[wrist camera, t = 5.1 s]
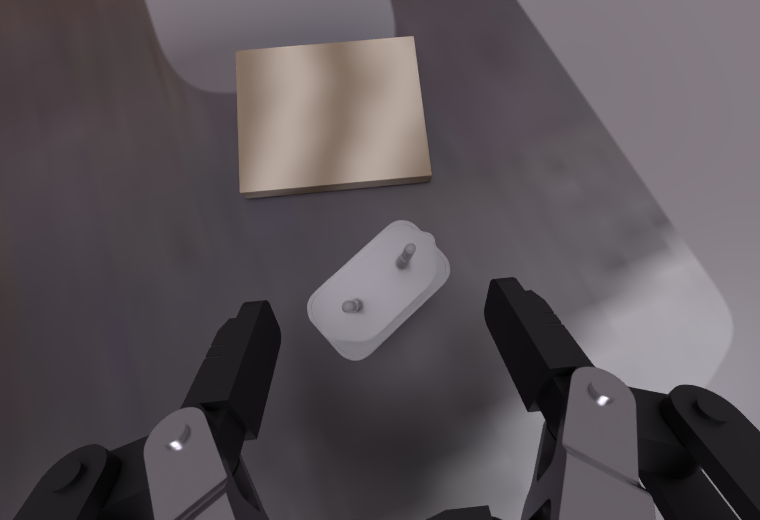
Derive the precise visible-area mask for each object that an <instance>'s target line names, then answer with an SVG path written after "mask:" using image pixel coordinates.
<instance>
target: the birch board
mask: <svg viewBox="0 0 760 520" xmlns="http://www.w3.org/2000/svg"><path fill="white" fill-rule="evenodd" d="M236 78H237V112H238V145H239V178H240V193H241V194H242V195H243V196H245V197H246V198H247V199H248V198H259V197H270V196H281V195H291V194H302V193H313V192H324V191H335V190H346V189H356V188H367V187H378V186H389V185H400V184H411V183H421V182H429V181H430V178H431V176H432V173H431V166H430V158H429V151H428V143H427V135H426V128H425V120H424V113H423V105H422V97H421V90H420V82H419V75H418V67H417V59H416V52H415V44H414V37H413V36H410V37H398V38H386V39H375V40H363V41H350V42H338V43H325V44H314V45H302V46H291V47H290V46H289V47H277V48H266V49H253V50H242V51H236Z"/></svg>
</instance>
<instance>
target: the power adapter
mask: <svg viewBox="0 0 760 520" xmlns="http://www.w3.org/2000/svg"><path fill="white" fill-rule="evenodd" d="M449 274H450V266H449V262H448V260H447V258H446V257H445V255H444V254H443V253H442V252H441V251H440V250H439V249H438V248H437V247H436V246H435V240H434V237H433V236H432V235H431V234H430V233H427V232H421V230H420V229H419V228H418V227H417V226H416V225H414V224H413V223H411V222H408V221H404V220H400V221H396V222H393V223H391V224H390V225H389V226H387V227H386V228H385V229H384V230H383V231H382V232H381V233H379V234H378V235H377V236H376V237H375V238H374V239H373V240H372V241H371V242H370V243H368V244H367V245H366V246H365V247H364V248H363V249H362V250H361V251H360V252H358V253H357V254H356V255H355V256H354V257H353V258H352V259H351V260H350V261H348V262H347V263H346V264H345V265H344V266H343V267H342V268H341V269H340V270H339V271H337V272H336V273H335V274H334V275H333V276H332V277H331V278H330V279H329V280H327V281H326V282H325V283H324V284H323V285H322V286H321V287H320V288H319V289H318V290H316V291H315V292H314V294H313V295H312V296H311V297H310V299H309V301H308V305H307V311H308V316H309V318H310V320H311V322H312V323H313V324H314V325H315V326H316V327H317V328H318V330H319V331H320V332H321V333H322V334H323V335H324V336H325V338H326V339H327V340H328V341H329V342H330V343H331V344H332V346H333V347H334V348H335V349H336V350H337V351H338V352H339V354H340V355H342V356H343V357H344V358H346V359H349V360H353V361H357V360H361V359H364V358H366V357H367V356H369V355H370V354H371V353H372V352H373V351H374V350H375V349H376V348H377V347H378V346H379V345H380V344H382V343H383V342H384V341H385V340H386V339H387V338H388V337H389V336H390V335H391V334H392V333H393V332H394V331H395V330H396V329H397V328H398V327H399V326H400V325H401V324H402V323H403V322H405V321H406V320H407V319H408V318H409V317H410V316H411V315H412V314H413V313H414V312H415V311H416V310H417V309H418V308H419V307H420V306H421V305H422V304H423V303H424V302H425V301H426V300H427V299H429V298H430V297H431V296H432V295H433V294H434V293H435V292H436V291H437V290H438V289H439V288H440V287H441V286H442V285H443V284H444V283H445V282H446V280H447V279H448V277H449Z"/></svg>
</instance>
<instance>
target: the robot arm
mask: <svg viewBox="0 0 760 520" xmlns="http://www.w3.org/2000/svg"><path fill="white" fill-rule="evenodd" d="M484 316H485V321H486V324H487V327H488V329H489V331H490V333H491V335H492V337H493V339H494V342H495V344H496V346H497V348H498V350H499V352H500V354H501V356H502V358H503V361H504V363H505V365H506V367H507V369H508V371H509V373H510V375H511V377H512V380H513V382H514V384H515V386H516V388H517V390H518V392H519V394H520V396H521V399H522V401H523V403H524V405H525V407H526V409H527V411H528V412H535V411H541V412H542V414H543V416H544V418H545V422H544V424H543V429H542V434H541V439H540V444H539V449H538V454H537V459H536V464H535V469H534V474H533V479H532V483H531V487H530V490H529V493H528V495H527V498H526V501H525V504H524V508H523V511H522V516H521V520H656V517H655V507H654V503H655V505H656V506H657V508H658V510H659V511H660V513H661V515H662V516H663V518H664V520H739V519H738V518H737V516H736V515H735V514H734V512H733V511H732V510H731V509H730V507H729V506H728V504H727V503H726V502H725V501H724V500H723V498H722V497H721V495H720V494H719V493H718V491H717V490H716V489H715V487H714V486H713V485H712V484H711V482H710V481H709V480H708V478H707V477H706V476H705V474H704V473H703V472H702V469H703V470H704V471H705V473H706V474H707V475H708V476H709V478H710V479H711V480H712V482H713V483H714V484H715V485H716V487H717V488H718V489H719V491H720V492H721V493H722V495H723V496H724V497H725V499H726V500H727V501H728V502H729V504H730V505H731V506H732V507H733V509H734V510H735V512H736V513H737V514H738V516H739V517H740V518H741V519H742V520H760V431H759V430H758V429H757V428H756V427H755V426H754V425H753V424H752V423H751V422H750V421H749V420H748V419H747V418H746V417H745V416H744V415H743V414H742V413H741V412H740V411H739V410H738V409H737V408H736V407H735V406H733V405H732V404H731V403H730V402H728V401H727V400H725V399H724V398H722V397H721V396H719V395H717V394H715V393H713V392H711V391H709V390H707V389H704V388H702V387H698V386H694V385H679V386H676V387H675V388H674V389H673V390H672V391H671V392H670V393H669V394H663V393H658V392H653V391H647V390H642V389H637V388H632V387H628V386H626V385H625V383H624V382H622V381H621V380H620V379H619V378H617V377H616V376H615V375H613V374H611V373H609V372H607V371H605V370H602V369H599V368H596V367H595V366H594V365H593V364H592V363H591V361H590V360H589V359H588V357H587V356H586V355H585V353H584V352H583V351H582V349H581V348H580V347H579V345H578V344H577V343H576V341H575V340H574V339H573V337H572V336H571V334H570V333H569V332H568V330H567V329H566V328H565V326H564V325H562V324H561V321H560V320H559V318H558V317H557V316H556V314H555V315H554V312H553V310H552V309H551V308H550V306H549V305H548V304H547V302H546V301H545V300H544V299H543V298H541V297H540V296H538V295H537V294H536V293H534V292H533V291H532V290H528V291H525V290H524V289H523V287H522V286H521V285H520V283H519V282H518V280H517V279H516V278H514V277H510V278H500V279H492V280H491V282H490V285H489V289H488V294H487V299H486V303H485V308H484ZM280 344H281V331H280V328H279V325H278V323H277V320H276V318H275V315H274V313H273V311H272V308H271V306H270V304H269V302H268V301H267V300H264V301H253V302H245V303H243V305H242V306H241V308H240V311H239V313H238V315H237V318H231V319H229V320H228V321H227V322H226V323H225V324H224V325H223V326H222V327H221V328H220V329H219V330H218V332H217V334H216V336H215V338H214V340H213V342H212V344H211V348H209V351H208V353H207V355H206V359H204V361H203V363H202V365H201V367H200V369H199V371H198V373H197V375H196V378H195V380H194V382H193V384H192V386H191V388H190V390H189V392H188V394H187V396H186V398H185V400H184V403H183V404H182V406H181V408H180V409H179V410H177V411H175V412H173V413H172V414H170V415H168V416H167V417H166V418H164V419H163V420H162V421H161V422H160V423H159V424H158V425H157V426H156V427H155V428H154V429H153V431H152V432H151V434H150V435H148V436H146V437H144V438H141V439H139V440H137V441H134V442H132V443H129V444H127V445H124V446H122V447H119V448H117V449H115V450H112V451H109V450H107V449H106V448H104V447H102V446H100V445H96V444H93V445H87V446H84V447H81V448H78V449H76V450H74V451H72V452H71V453H69V454H68V455H66V456H65V457H63V458H62V459H60V460H59V461H58V462H57V463H56V464H54V465H53V466H52V467H51V468H50V469H49V470H48V471H47V472H46V474H45V475H44V476H43V477H42V478H41V480H40V481H39V482H38V484H37V485H36V487H35V488H34V490H33V491H32V493H31V494H30V495H29V497H28V498H27V500H26V501H25V503H24V504H23V506H22V507H21V509H20V510H19V512H18V513H17V515H16V516H15V518H14V519H13V520H269V518H268V516H267V514H266V512H265V510H264V508H263V506H262V503H261V501H260V499H259V496H258V494H257V491H256V489H255V487H254V484H253V482H252V480H251V477H250V475H249V473H248V470H247V468H246V465H245V463H244V461H243V458H242V456H241V454H240V453H241V449H242V446H243V442H244V440H254V439H257V437H258V433H259V429H260V425H261V421H262V417H263V413H264V409H265V405H266V401H267V397H268V393H269V389H270V385H271V381H272V377H273V373H274V369H275V365H276V361H277V357H278V353H279V349H280ZM639 478H640V480H641V482H642V483H643V485H644V486H645V488H646V489H644V488H643V487H641V485H640V482H639ZM653 501H654V502H653ZM427 520H502V519H499V518H496V517H492V516H491V513H490V510H489V506H488V505H487V506H478V507H469V508H460V509H451V510H445V511H443V512H441V513H439V514H437V515H435V516H433V517H431V518H429V519H427Z"/></svg>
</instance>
